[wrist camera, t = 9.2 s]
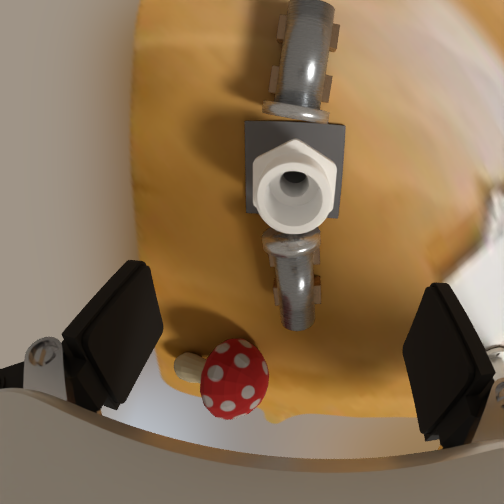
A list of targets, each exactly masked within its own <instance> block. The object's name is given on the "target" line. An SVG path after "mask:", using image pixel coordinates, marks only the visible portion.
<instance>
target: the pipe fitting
mask: <svg viewBox="0 0 504 504" xmlns="http://www.w3.org/2000/svg"><path fill="white" fill-rule="evenodd" d="M287 171H297V172H302V173H304V174H305V175H306V178H305V179H304V180H303V181H301V182H299V183H291V182H289V181H287V180H286V179H285V178H284V176H283V174H284V173H285V172H287ZM336 174H337V167H336V165H335V163H334V162H333V161H331V160H330V159H329V158H327V157H326V156H324V155H323V154H321V153H320V152H318V151H317V150H315V149H314V148H312V147H310V146H309V145H307V144H306V143H304V142H303V141H301V140H299V139H296V138H295V139H292V140H290V141H288V142H286V143H284V144H282V145H280V146H278V147H276V148H274V149H272V150H270V151H268V152H266V153H264V154H262V155H260V156H258V157H257V158H256V159H255V160H254V162H253V205H254V206H255V207H256V208H257V211H258V213H259V214H260V216H261V218H262V219H263V220H264V221H265V222H266V223H267V224H268V225H269V226H270V227H272V228H273V229H275V230H277V231H279V232H282V233H286V234H302V233H306V232H309V231H311V230H313V229H315V228H316V227H318V226H319V225H320V224H321V223H322V222H323V221H324V220H325V219H326V217H327V216H328V214H329V212H331V211H332V210H333V205H334V195H335V185H336Z"/></svg>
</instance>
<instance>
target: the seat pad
mask: <svg viewBox="0 0 504 504" xmlns="http://www.w3.org/2000/svg"><path fill="white" fill-rule="evenodd" d="M295 138H296V139H299V140H301V141H303V142H304V143H306V144H307V145H309V146H310V147H312V148H314V149H315V150H317V151H318V152H320V153H321V154H323V155H324V156H326V157H327V158H329V159H330V160H331V161H333V162H334V163H335V165H336V167H337V174H336V185H335V195H334V205H333V210H332V211H331V212H329V214H328V216H327V217H326V218H338V214H339V205H340V195H341V184H342V172H343V159H344V144H345V126H343V125H333V124H321V123H306V122H284V121H245V170H246V213H258V211H257V208H256V207H255V206H254V205H253V162H254V160H255V159H256V158H257V157H258V156H260V155H262V154H264V153H266V152H268V151H270V150H272V149H274V148H276V147H278V146H280V145H282V144H284V143H286V142H288V141H290V140H292V139H295ZM283 176H284V178H285V179H286V180H287V181H289V182H291V183H299V182H301V181H303V180H304V179H305V178H306V175H305V174H304V173H302V172H297V171H287V172H285V173H284V174H283ZM258 214H259V213H258Z"/></svg>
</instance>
